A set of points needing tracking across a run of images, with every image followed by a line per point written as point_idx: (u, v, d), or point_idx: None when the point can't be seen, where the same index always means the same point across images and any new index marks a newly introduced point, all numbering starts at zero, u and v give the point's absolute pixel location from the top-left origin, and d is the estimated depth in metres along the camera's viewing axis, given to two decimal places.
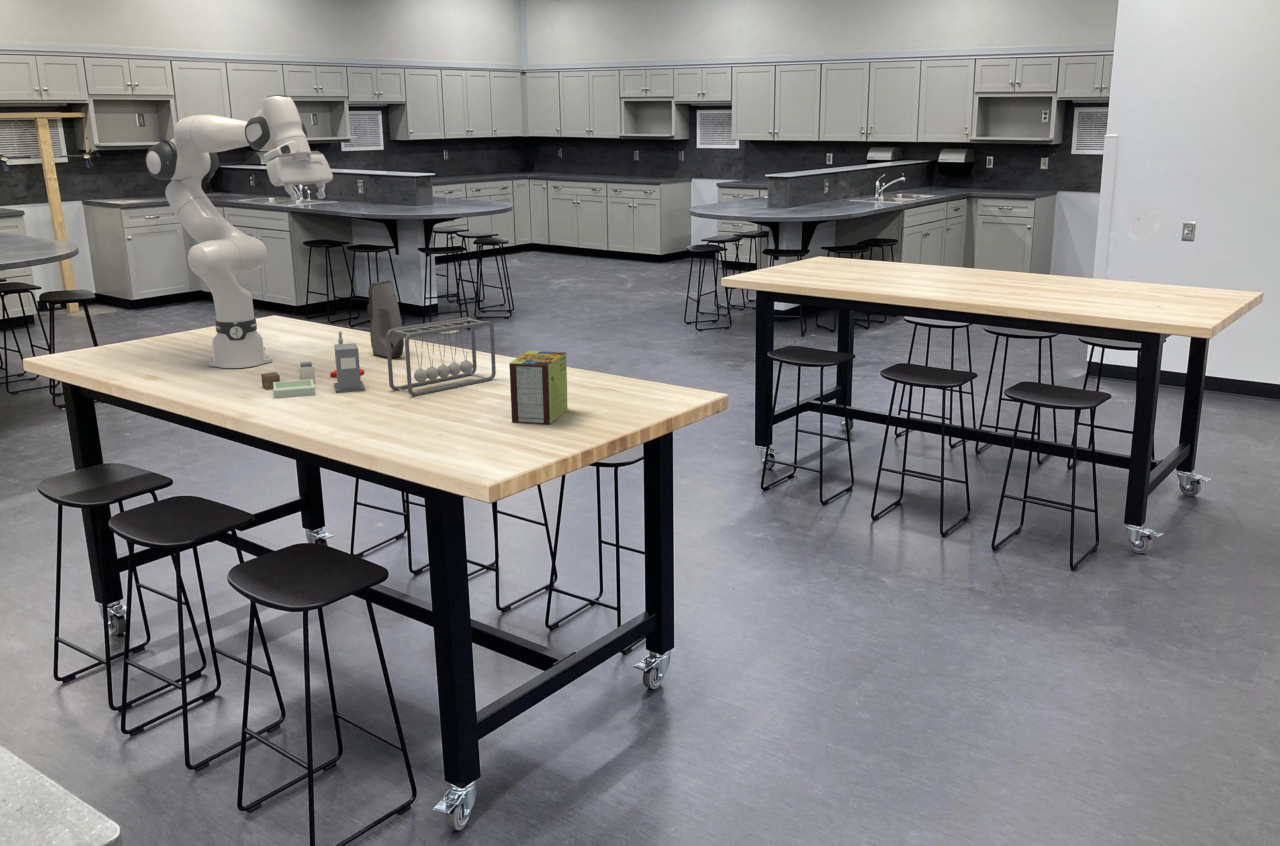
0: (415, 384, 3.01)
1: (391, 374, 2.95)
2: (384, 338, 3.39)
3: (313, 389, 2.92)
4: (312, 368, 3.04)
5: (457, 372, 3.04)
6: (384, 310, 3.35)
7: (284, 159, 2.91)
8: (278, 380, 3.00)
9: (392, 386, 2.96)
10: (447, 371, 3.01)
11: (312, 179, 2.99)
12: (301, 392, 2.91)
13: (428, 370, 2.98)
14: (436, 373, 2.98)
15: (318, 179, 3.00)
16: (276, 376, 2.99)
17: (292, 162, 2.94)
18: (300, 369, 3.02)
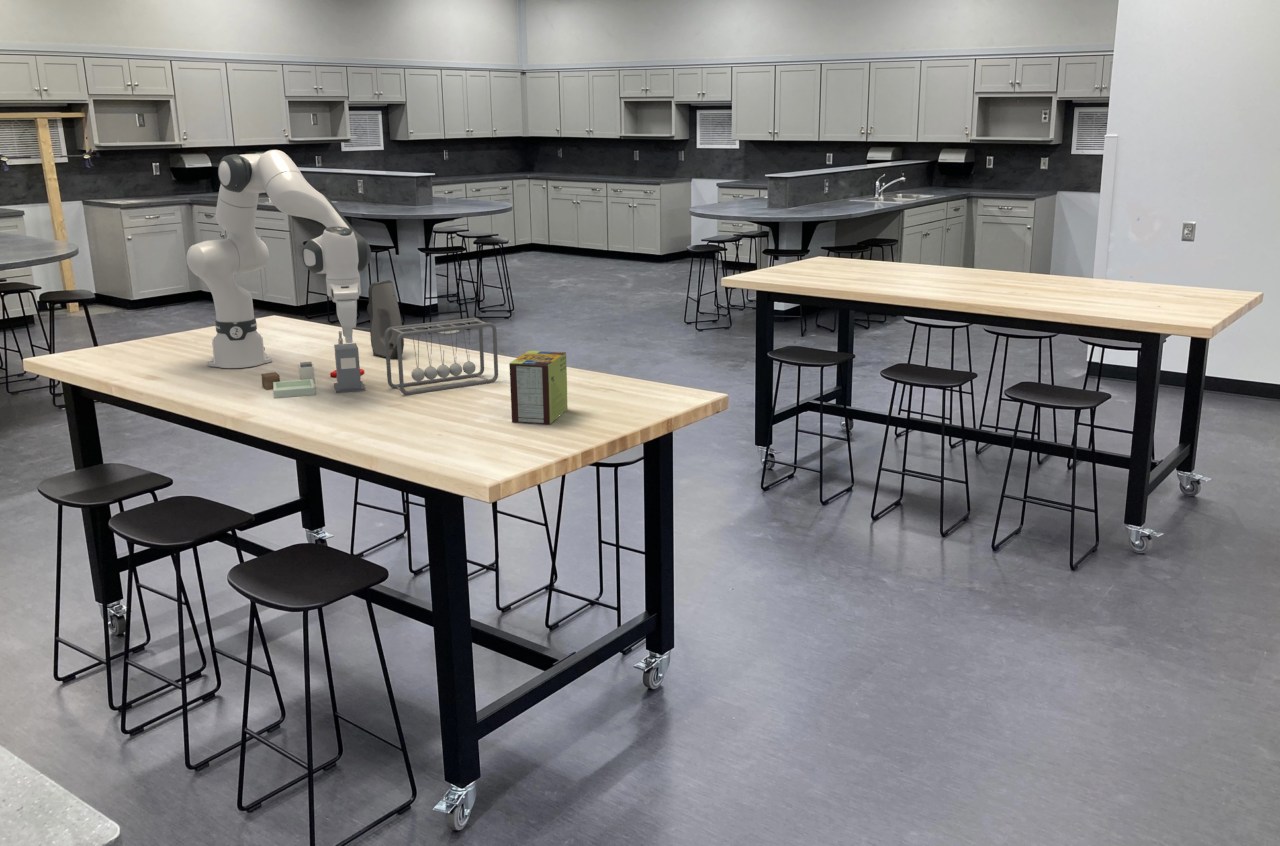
0: (415, 383, 3.03)
1: (389, 372, 2.97)
2: (384, 338, 3.39)
3: (313, 389, 2.92)
4: (312, 368, 3.04)
5: (457, 373, 3.03)
6: (384, 310, 3.35)
7: None
8: (278, 380, 3.00)
9: (390, 384, 2.98)
10: (446, 371, 3.01)
11: None
12: (301, 392, 2.91)
13: (426, 369, 2.99)
14: (434, 373, 2.99)
15: None
16: (276, 376, 2.99)
17: None
18: (300, 369, 3.02)
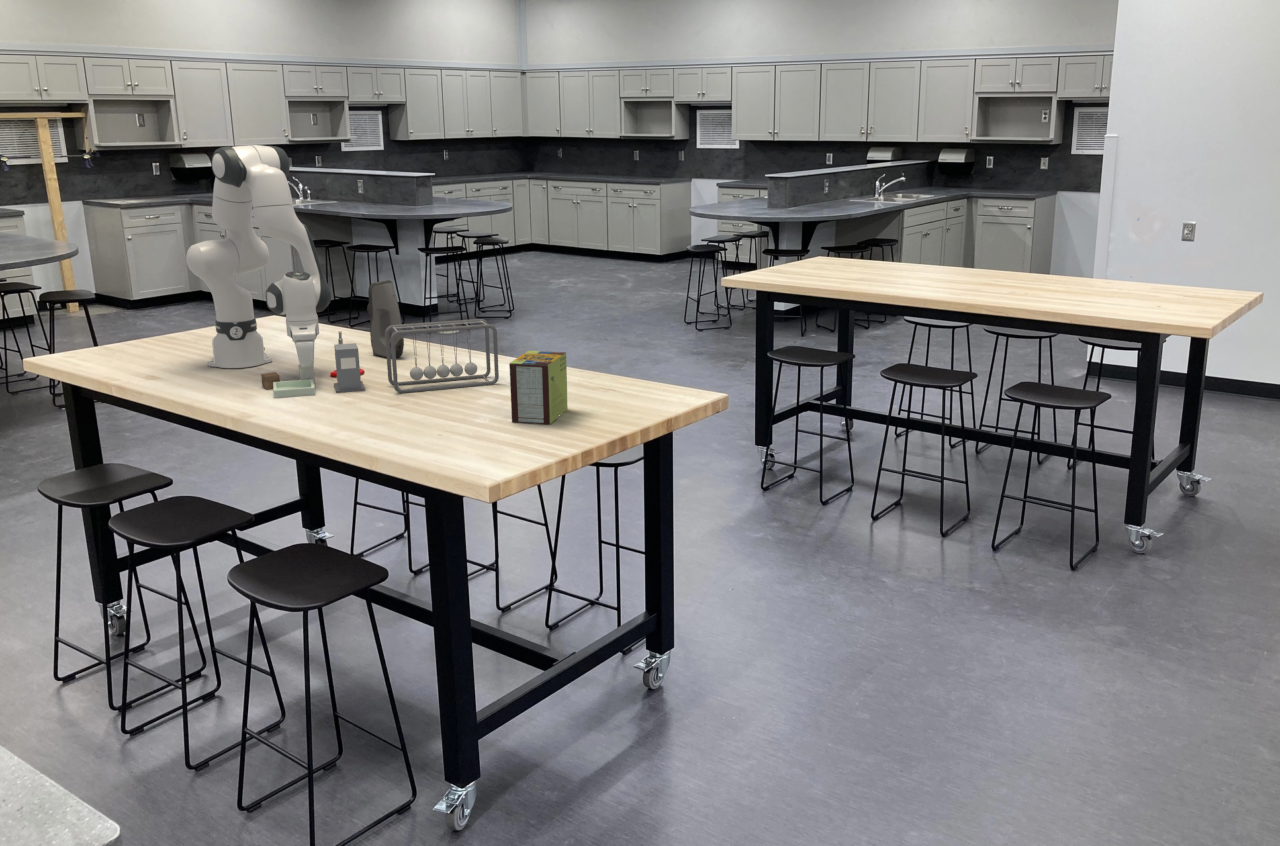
0: (417, 381, 3.04)
1: (389, 370, 3.00)
2: (384, 338, 3.39)
3: (313, 389, 2.92)
4: (312, 368, 3.04)
5: (457, 373, 3.02)
6: (384, 310, 3.35)
7: None
8: (278, 380, 3.00)
9: (390, 381, 3.01)
10: (445, 371, 3.00)
11: None
12: (301, 392, 2.91)
13: (425, 369, 3.00)
14: (432, 372, 2.99)
15: None
16: (276, 376, 2.99)
17: None
18: (300, 369, 3.02)
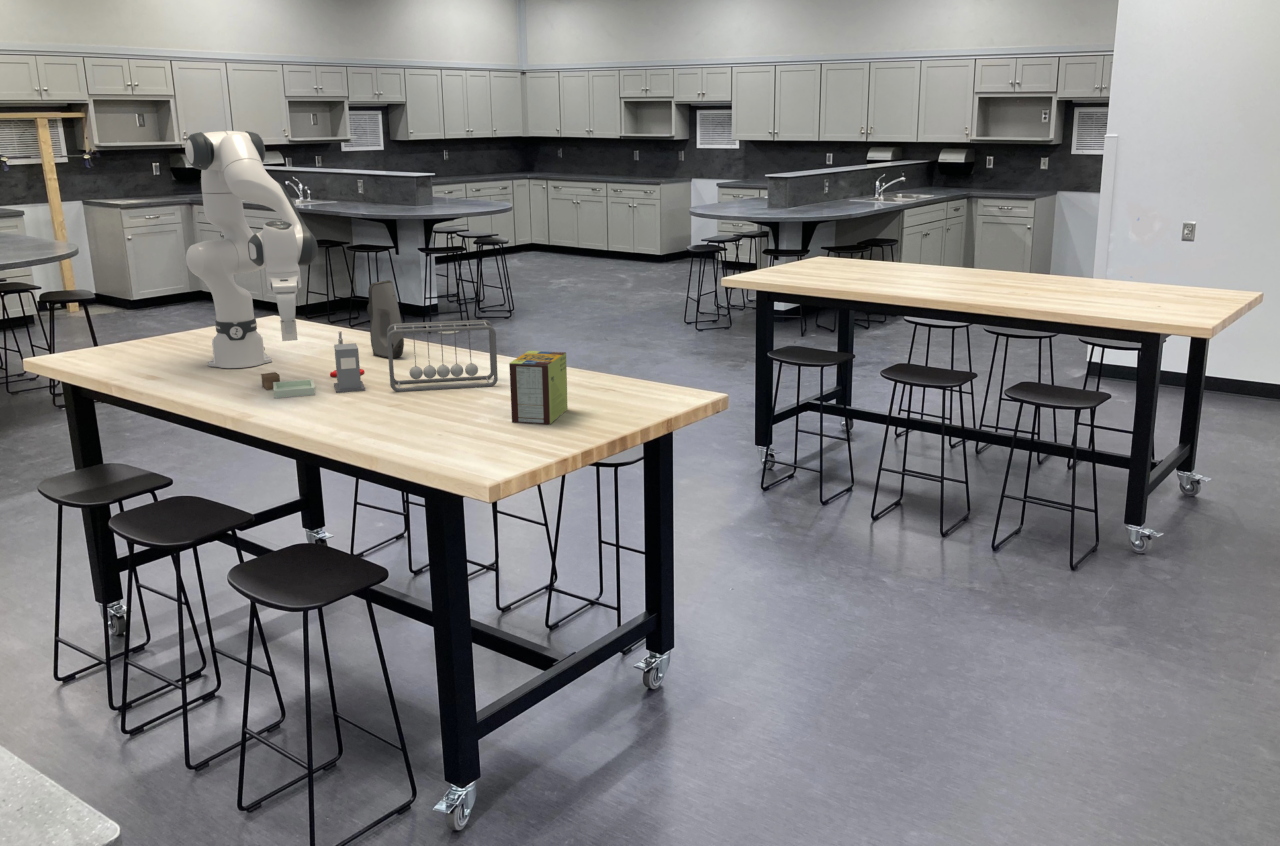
0: (419, 380, 3.05)
1: None
2: (384, 338, 3.39)
3: (313, 389, 2.92)
4: (294, 323, 2.89)
5: (456, 374, 3.01)
6: (384, 310, 3.35)
7: None
8: (278, 380, 3.00)
9: None
10: (444, 372, 3.00)
11: None
12: (301, 392, 2.91)
13: (424, 368, 3.00)
14: (431, 372, 3.00)
15: None
16: (276, 376, 2.99)
17: None
18: (281, 324, 2.88)
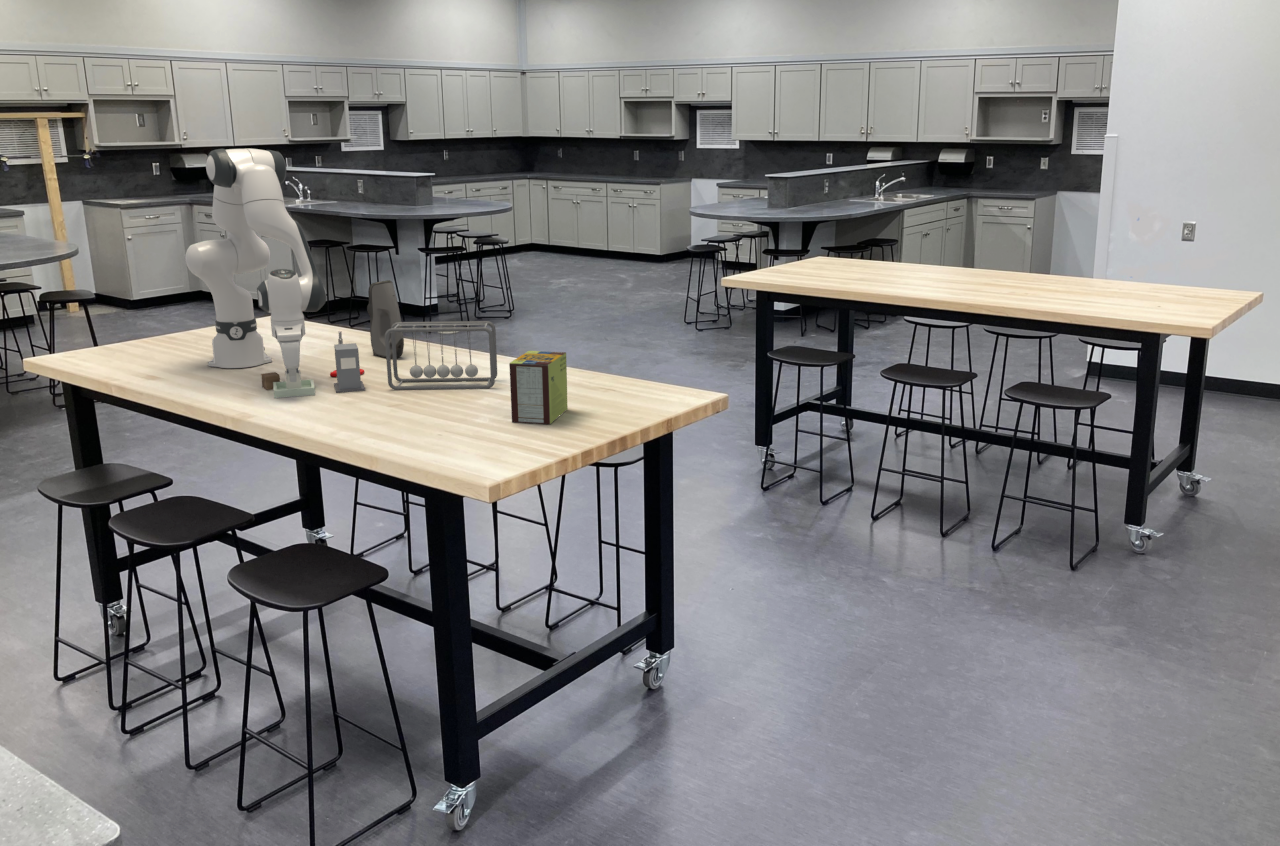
0: (422, 379, 3.07)
1: (394, 366, 3.05)
2: (384, 338, 3.39)
3: (313, 389, 2.92)
4: (299, 374, 2.93)
5: (455, 374, 3.01)
6: (384, 310, 3.35)
7: None
8: (278, 380, 3.00)
9: (395, 377, 3.06)
10: (443, 372, 3.00)
11: None
12: (301, 392, 2.91)
13: None
14: (429, 372, 3.00)
15: None
16: (276, 376, 2.99)
17: None
18: (286, 375, 2.92)
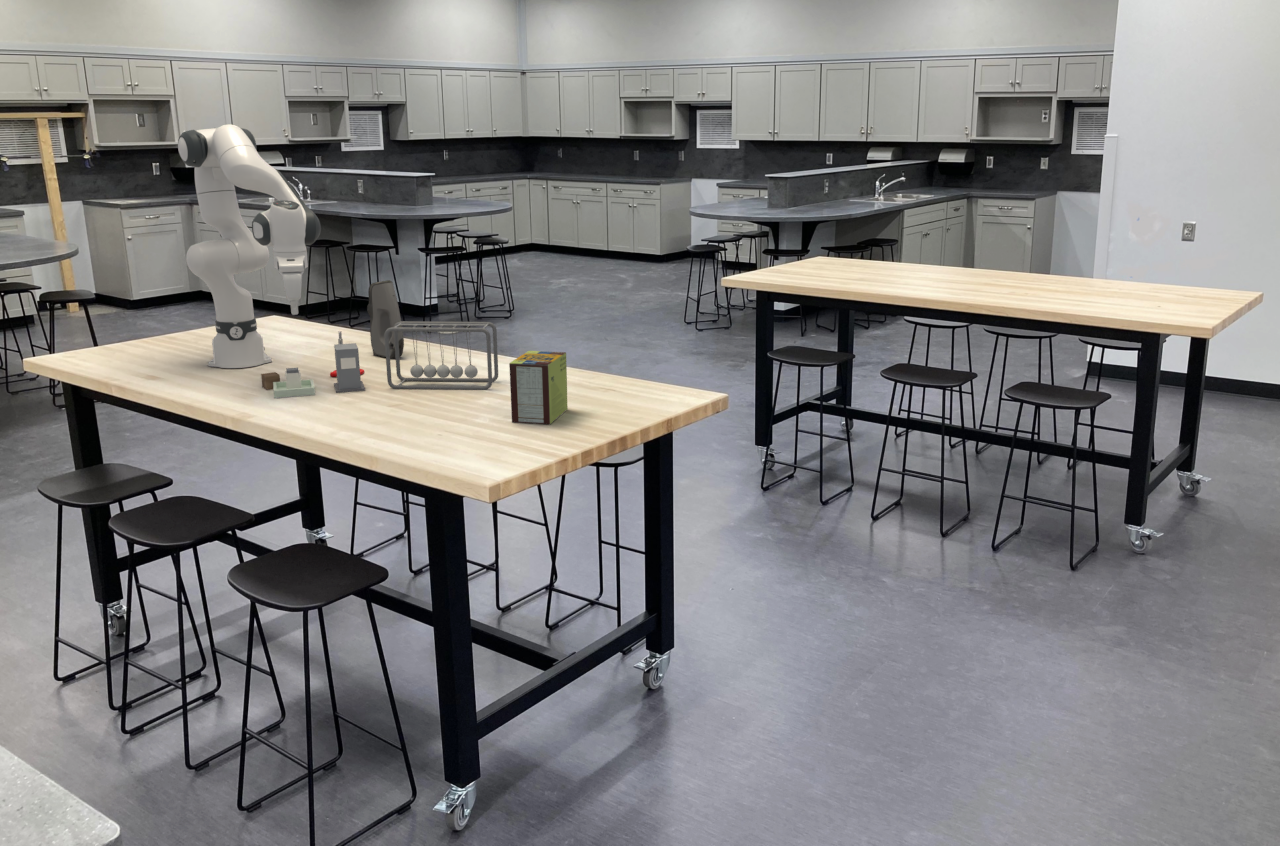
0: (424, 379, 3.07)
1: (397, 365, 3.07)
2: (384, 338, 3.39)
3: (313, 389, 2.92)
4: (299, 374, 2.93)
5: (454, 375, 3.00)
6: (384, 310, 3.35)
7: None
8: (278, 380, 3.00)
9: (398, 376, 3.08)
10: (442, 372, 3.00)
11: None
12: (301, 392, 2.91)
13: None
14: (429, 371, 3.00)
15: None
16: (276, 376, 2.99)
17: None
18: (286, 375, 2.92)
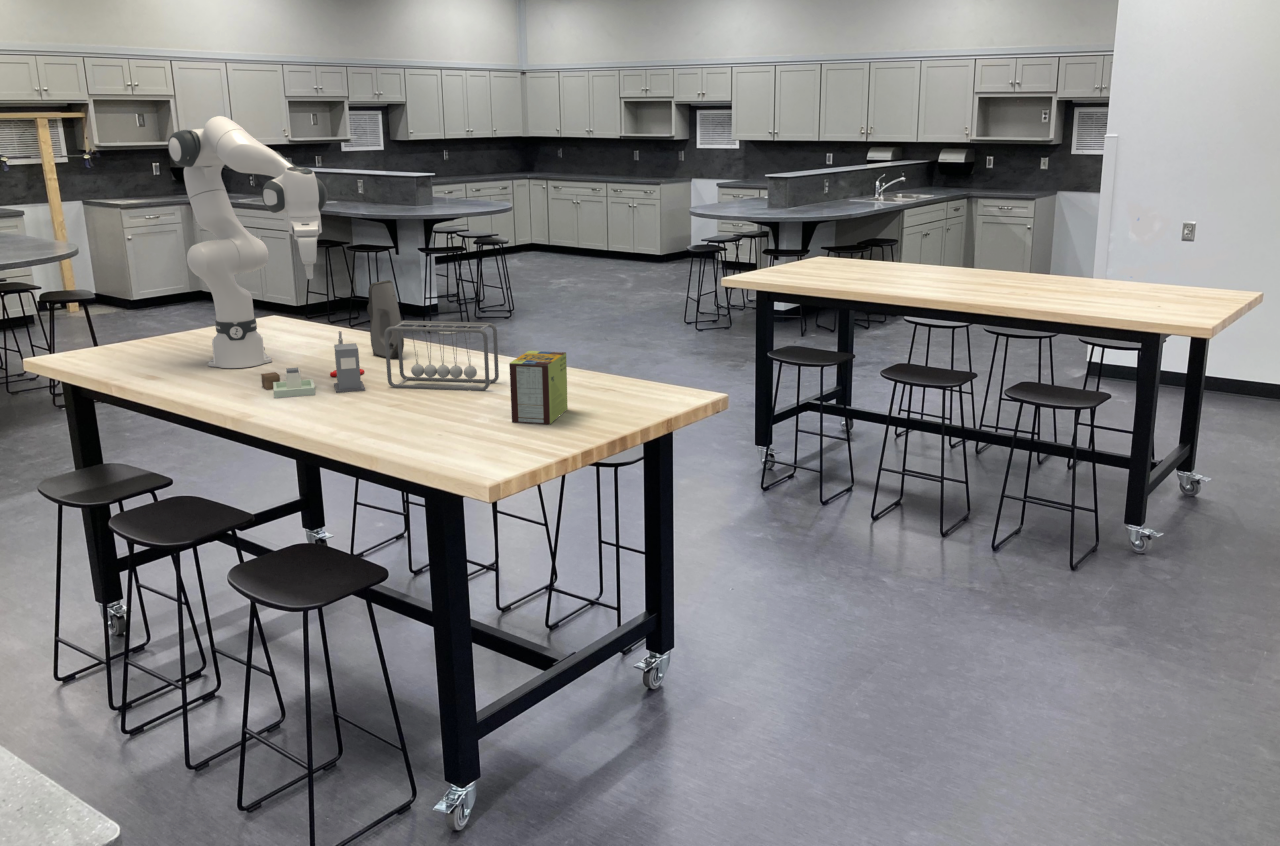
0: (426, 378, 3.08)
1: (400, 364, 3.08)
2: (384, 338, 3.39)
3: (313, 389, 2.92)
4: (299, 374, 2.93)
5: (453, 375, 3.00)
6: (384, 310, 3.35)
7: None
8: (278, 380, 3.00)
9: (401, 375, 3.09)
10: (441, 372, 3.00)
11: None
12: (301, 392, 2.91)
13: (425, 367, 3.02)
14: (429, 371, 3.01)
15: None
16: (276, 376, 2.99)
17: None
18: (286, 375, 2.92)
